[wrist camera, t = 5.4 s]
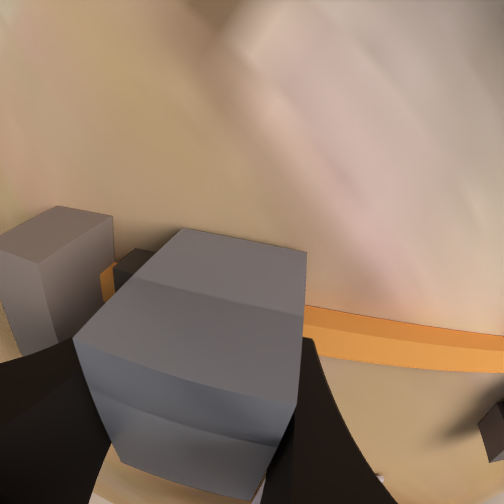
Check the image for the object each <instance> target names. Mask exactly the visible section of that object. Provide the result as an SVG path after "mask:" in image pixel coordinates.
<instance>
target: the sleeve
mask: <svg viewBox="0 0 504 504" xmlns="http://www.w3.org/2000/svg"><path fill="white" fill-rule="evenodd" d="M306 264H307V252H303V251H298V250H293V249H288V248H283V247H278V246H273V245H268V244H263V243H258V242H253V241H248V240H243V239H238V238H233V237H228V236H223V235H218V234H213V233H207V232H202V231H197V230H192V229H187V228H182V229H181V230H180V231H179V232H178V233H177V234H176V235H175V236H173V237H172V238H171V239H170V240H169V241H168V242H167V243H166V244H165V245H164V246H163V247H162V248H161V249H160V250H159V251H158V252H157V253H155V254H154V255H153V256H152V257H151V258H150V259H149V260H148V261H147V262H146V263H145V264H144V265H143V266H142V267H141V268H140V269H139V270H138V271H137V272H136V273H135V274H134V275H133V276H132V277H131V278H130V279H129V280H128V281H127V282H126V283H125V284H124V285H123V286H122V287H121V288H120V289H119V290H118V291H117V292H116V293H115V294H114V295H113V296H112V297H111V298H110V299H109V300H108V301H107V302H106V303H105V304H104V305H103V306H102V307H101V308H100V309H99V310H98V311H97V312H96V314H95V315H94V316H93V317H92V318H91V319H90V320H89V321H88V322H87V323H86V324H85V325H84V326H83V327H82V328H81V329H80V331H79V332H78V333H77V334H76V335H75V336H74V337H73V342H74V345H75V349H76V352H77V355H78V358H79V361H80V364H81V367H82V370H83V373H84V376H85V379H86V382H87V385H88V387H89V390H90V393H91V395H92V398H93V400H94V403H95V405H96V408H97V410H98V413H99V415H100V417H101V420H102V422H103V424H104V427H105V429H106V431H107V433H108V435H109V438H110V440H111V442H112V444H113V446H114V448H115V450H116V452H117V454H118V456H119V458H120V460H121V462H123V463H125V464H127V465H130V466H132V467H135V468H137V469H140V470H142V471H145V472H147V473H150V474H153V475H155V476H158V477H161V478H164V479H167V480H170V481H173V482H176V483H179V484H182V485H186V486H189V487H192V488H196V489H200V490H203V491H207V492H211V493H215V494H219V495H223V496H228V497H232V498H237V499H242V500H247V501H251V499H252V497H253V495H254V493H255V491H256V489H257V487H258V486H259V484H260V482H261V480H262V478H263V476H264V474H265V472H266V470H267V468H268V466H269V464H270V462H271V460H272V458H273V456H274V454H275V451H276V449H277V447H278V445H279V443H280V441H281V439H282V437H283V434H284V432H285V430H286V428H287V425H288V423H289V421H290V419H291V416H292V414H293V412H294V410H295V407H296V405H297V396H298V385H299V374H300V362H301V350H302V337H303V322H304V305H305V287H306Z"/></svg>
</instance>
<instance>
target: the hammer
mask: <svg viewBox="0 0 504 504" xmlns="http://www.w3.org/2000/svg"><path fill="white" fill-rule="evenodd" d="M154 254H155V253H154V252H149V251H145V250H141V249H136V248H135V249H134V250H133V251H132V252H130V253H129V254H128V255H127V256H126V257H124V258H123V259H122V260H121V261H120V262H119V263H118V262H115V257H114V241H113V220H112V216H109V215H104V214H98V213H93V212H88V211H82V210H77V209H72V208H66V207H61V206H56V207H54V208H52V209H50V210H48V211H46V212H44V213H42V214H40V215H38V216H36V217H34V218H32V219H30V220H28V221H26V222H24V223H22V224H20V225H18V226H16V227H15V228H13V229H11V230H9V231H7V232H6V233H4V234H2V235H0V298H1V302H2V305H3V308H4V311H5V313H6V316H7V319H8V322H9V325H10V327H11V330H12V332H13V335H14V338H15V340H16V342H17V345H18V347H19V350H20V352H21V354H22V355H23V356H27V355H30V354H33V353H35V352H38V351H41V350H43V349H46V348H48V347H51V346H53V345H55V344H57V343H60V342H62V341H64V340H66V339H68V338H70V337H72V336H74V335H76V334H77V333H78V332H79V331H80V329H81V328H82V327H83V326H84V325H85V324H86V323H87V322H88V321H89V320H90V319H91V318H92V317H93V316H94V315H95V314H96V312H97V311H98V310H99V309H100V308H101V307H102V306H103V305H104V304H105V303H106V302H107V301H108V300H109V299H110V298H111V297H112V296H113V295H114V294H115V293H116V292H117V291H118V290H119V289H120V288H121V287H122V286H123V285H124V284H125V283H126V282H127V281H128V280H129V279H130V278H131V277H132V276H133V275H134V274H135V273H136V272H137V271H138V270H139V269H140V268H141V267H142V266H143V265H144V264H145V263H146V262H147V261H148V260H149V259H150V258H151V257H152V256H153V255H154ZM303 337H307V338H312V339H313V341H314V342H315V346H316V350H317V353H318V355H321V356H327V357H333V358H340V359H346V360H353V361H360V362H367V363H375V364H383V365H392V366H401V367H410V368H421V369H433V370H446V371H463V372H488V373H504V336H496V335H488V334H480V333H472V332H464V331H457V330H450V329H443V328H436V327H429V326H422V325H416V324H409V323H403V322H397V321H391V320H385V319H379V318H373V317H367V316H361V315H356V314H350V313H344V312H339V311H333V310H328V309H323V308H317V307H312V306H307V305H304V322H303Z"/></svg>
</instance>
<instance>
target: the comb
mask: <svg viewBox="0 0 504 504" xmlns="http://www.w3.org/2000/svg"><path fill="white" fill-rule="evenodd" d="M478 426H479V429H480V432H481V436H482V439H483V442H484V446H485V449H486V453H487V456H488V460H489V463H491V462H496V461H500V460H504V403H496V405H495V406H494V407H493V408H492V409H491V410H490V412H489V413H488V414H487V415H486V416H485V417H484V418H483V419H482V421H481V422H480V423H479V424H478Z"/></svg>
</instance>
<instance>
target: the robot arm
mask: <svg viewBox="0 0 504 504" xmlns="http://www.w3.org/2000/svg"><path fill="white" fill-rule="evenodd" d="M74 336H75V335H74ZM74 336H72V337H70V338H68V339H66V340H64V341H62V342H60V343H57V344H55V345H53V346H51V347H48V348H46V349H43V350H41V351H38V352H35V353H33V354H30V355H27V356H24V357H21V358H17V359H14V360H10V361H7V362H3V363H0V504H88V503H89V500H90V497H91V494H92V491H93V488H94V485H95V482H96V479H97V476H98V474H99V471H100V469H101V466H102V464H103V461H104V459H105V456H106V454H107V452H108V449H109V447H110V445H111V440H110V438H109V435H108V433H107V431H106V429H105V427H104V424H103V422H102V420H101V417H100V415H99V413H98V410H97V408H96V405H95V403H94V400H93V398H92V395H91V393H90V390H89V387H88V385H87V382H86V379H85V376H84V373H83V370H82V367H81V364H80V361H79V358H78V355H77V352H76V349H75V345H74V342H73V337H74ZM383 481H384V477H383V476H376V474H375V473H374V472H373V470H372V469H371V467H370V466H369V464H368V463H367V461H366V459H365V458H364V456H363V455H362V453H361V451H360V450H359V448H358V446H357V444H356V443H355V441H354V439H353V437H352V436H351V434H350V432H349V430H348V428H347V426H346V424H345V422H344V420H343V418H342V416H341V413H340V411H339V409H338V407H337V405H336V402H335V400H334V398H333V395H332V393H331V390H330V388H329V385H328V383H327V380H326V377H325V375H324V372H323V369H322V366H321V363H320V360H319V357H318V353H317V350H316V346H315V342H314V341H313V339H312V338H307V337H302V350H301V362H300V374H299V385H298V396H297V405H296V407H295V410H294V412H293V414H292V416H291V419H290V421H289V423H288V425H287V428H286V430H285V432H284V434H283V437H282V439H281V441H280V443H279V445H278V447H277V449H276V451H275V454H274V456H273V458H272V460H271V462H270V464H269V466H268V468H267V472H266V477H265V479H264V481H263V483H262V485H261V487H260V488H259V490H258V492H257V494H256V496H255V497H254V499H253V501H252V503H251V504H398V503H397V502H396V501H395V500H394V498H393V497H392V496H391V494H390V493H389V492H388V490H387V489H386V488H385V486H384V485H383V484H382V483H383Z"/></svg>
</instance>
